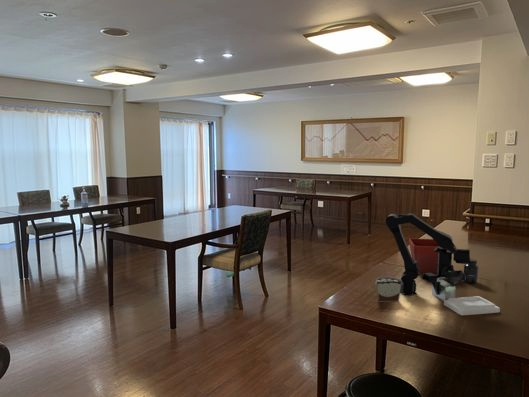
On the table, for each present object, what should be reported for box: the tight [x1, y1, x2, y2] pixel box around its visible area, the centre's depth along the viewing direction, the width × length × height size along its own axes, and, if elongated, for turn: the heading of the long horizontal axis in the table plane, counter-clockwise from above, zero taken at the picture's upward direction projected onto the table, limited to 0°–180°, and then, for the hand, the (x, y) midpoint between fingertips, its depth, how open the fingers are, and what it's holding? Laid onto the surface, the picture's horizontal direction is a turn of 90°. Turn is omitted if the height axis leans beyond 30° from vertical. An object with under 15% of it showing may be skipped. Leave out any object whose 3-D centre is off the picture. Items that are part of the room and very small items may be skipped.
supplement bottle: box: [462, 258, 480, 285], centre depth 206 cm, size 7×7×12 cm
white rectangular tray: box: [443, 295, 501, 316], centre depth 173 cm, size 18×12×3 cm, turn 100°
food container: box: [374, 276, 403, 303], centre depth 184 cm, size 12×6×10 cm, turn 92°
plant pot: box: [408, 237, 449, 275], centre depth 225 cm, size 19×19×17 cm
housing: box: [431, 279, 456, 302], centre depth 186 cm, size 5×10×7 cm, turn 10°
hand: (443, 294), depth 186 cm, fingers open, 6 cm apart
